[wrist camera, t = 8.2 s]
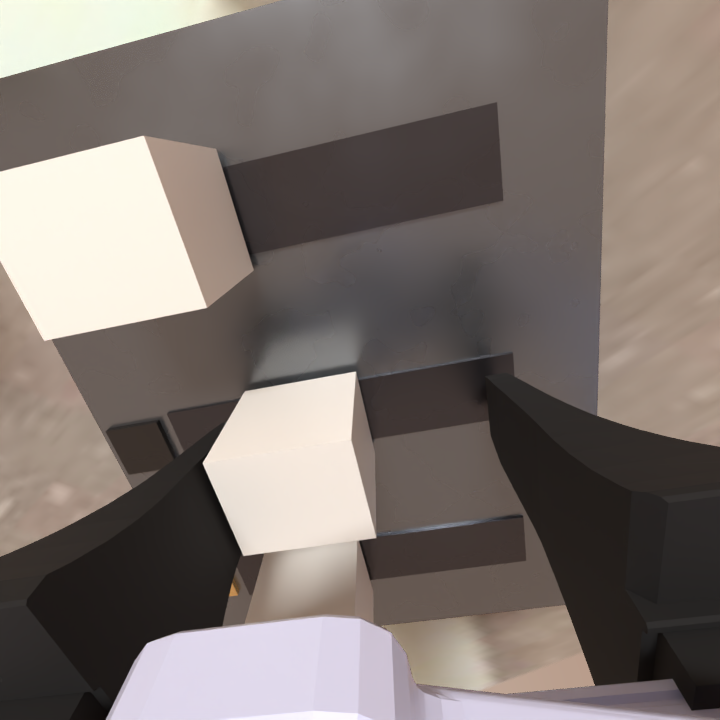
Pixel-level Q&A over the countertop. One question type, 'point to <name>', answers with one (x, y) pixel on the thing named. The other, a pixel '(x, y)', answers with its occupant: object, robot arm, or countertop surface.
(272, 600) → the switch
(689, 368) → the countertop surface
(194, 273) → the switch
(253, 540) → the switch
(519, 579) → the console
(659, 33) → the countertop surface
